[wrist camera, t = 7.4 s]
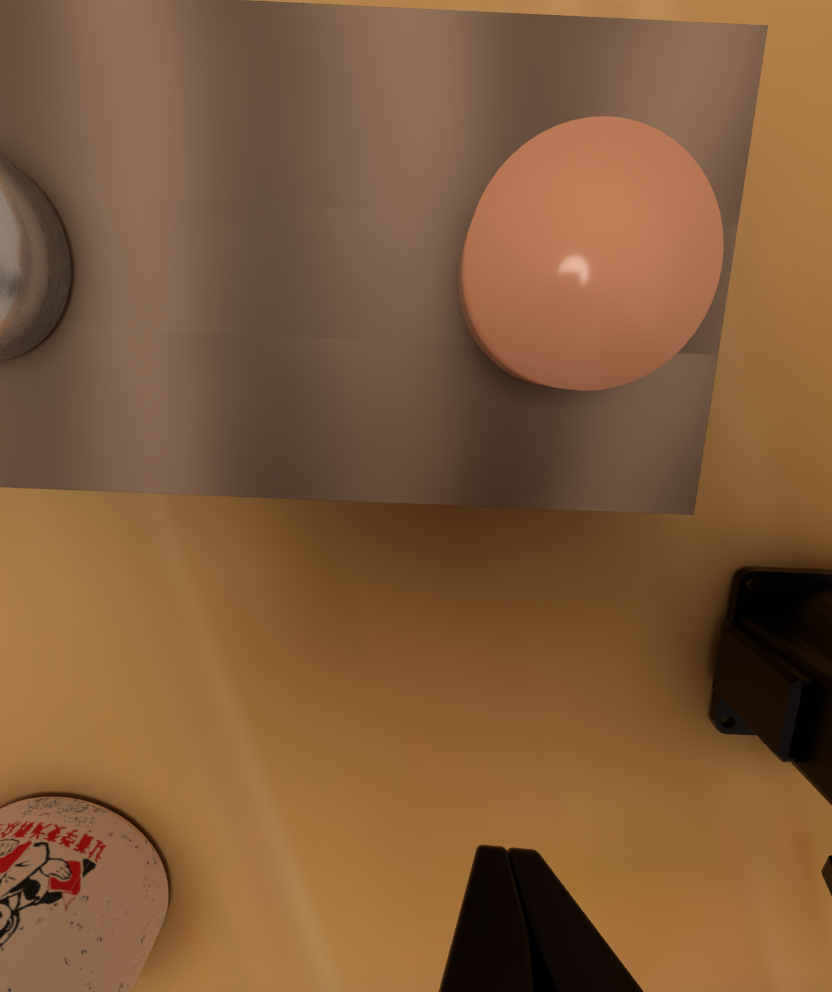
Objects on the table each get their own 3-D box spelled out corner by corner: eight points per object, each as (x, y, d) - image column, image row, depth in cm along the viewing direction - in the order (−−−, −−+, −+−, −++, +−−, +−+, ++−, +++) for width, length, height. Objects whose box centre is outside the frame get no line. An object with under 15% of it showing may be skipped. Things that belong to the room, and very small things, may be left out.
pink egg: (624, 211, 17) (742, 122, 11) (605, 386, 18) (702, 395, 12) (453, 204, 17) (474, 109, 11) (444, 380, 18) (458, 385, 12)
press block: (689, 102, 17) (768, 25, 14) (639, 486, 20) (693, 515, 16) (-102, 65, 17) (-254, -24, 13) (-48, 458, 20) (-162, 480, 16)
